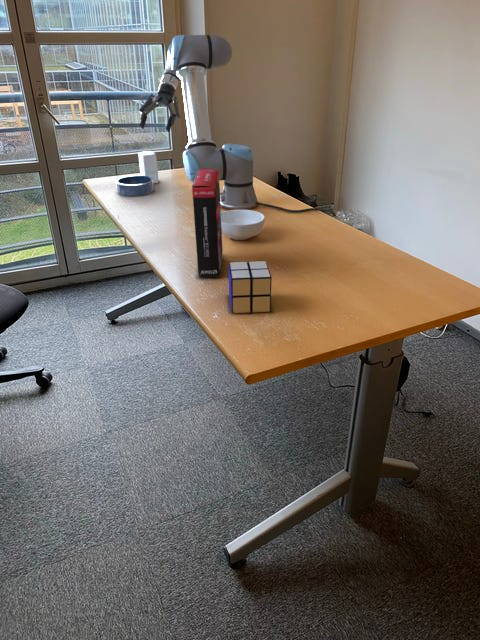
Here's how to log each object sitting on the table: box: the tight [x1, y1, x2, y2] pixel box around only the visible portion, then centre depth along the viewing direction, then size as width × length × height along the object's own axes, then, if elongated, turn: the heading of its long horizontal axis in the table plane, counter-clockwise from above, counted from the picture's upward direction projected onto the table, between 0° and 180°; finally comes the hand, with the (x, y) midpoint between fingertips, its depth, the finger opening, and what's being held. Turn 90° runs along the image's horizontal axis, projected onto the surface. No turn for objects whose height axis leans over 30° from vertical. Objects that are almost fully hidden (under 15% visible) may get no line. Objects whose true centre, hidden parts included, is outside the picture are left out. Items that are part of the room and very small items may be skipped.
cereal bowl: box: [221, 209, 266, 241], centre depth 173 cm, size 17×17×7 cm
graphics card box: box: [191, 170, 224, 279], centre depth 146 cm, size 17×7×27 cm, turn 179°
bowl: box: [115, 174, 155, 197], centre depth 220 cm, size 16×16×5 cm
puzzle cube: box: [228, 260, 273, 315], centre depth 130 cm, size 10×10×10 cm
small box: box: [137, 150, 160, 184], centre depth 232 cm, size 8×6×13 cm
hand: (154, 129), depth 231 cm, fingers open, 13 cm apart
